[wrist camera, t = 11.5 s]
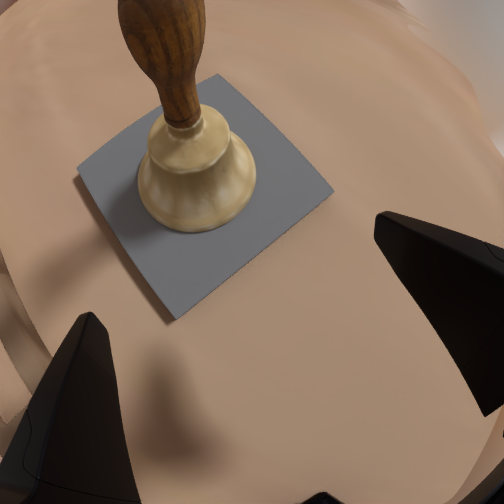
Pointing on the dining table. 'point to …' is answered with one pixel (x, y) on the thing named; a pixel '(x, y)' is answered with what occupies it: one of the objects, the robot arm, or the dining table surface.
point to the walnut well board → (19, 347)
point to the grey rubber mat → (216, 240)
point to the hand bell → (184, 123)
